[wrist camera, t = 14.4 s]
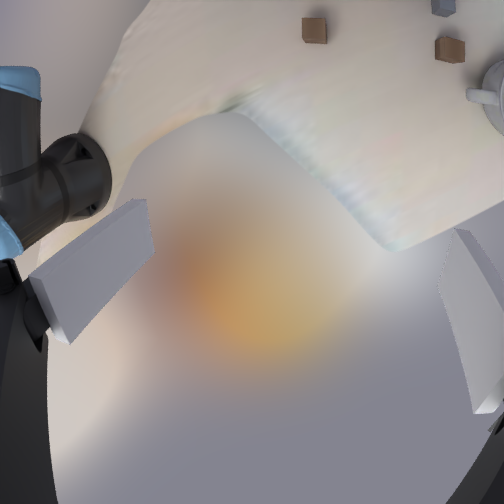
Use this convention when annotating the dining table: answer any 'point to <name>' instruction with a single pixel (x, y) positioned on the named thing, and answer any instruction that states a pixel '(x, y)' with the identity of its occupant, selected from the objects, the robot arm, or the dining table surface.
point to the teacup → (491, 95)
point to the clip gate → (444, 46)
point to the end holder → (443, 7)
